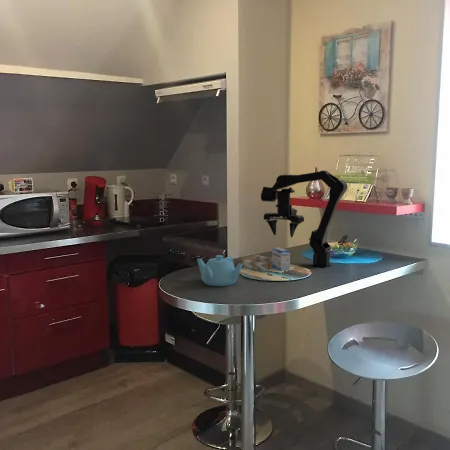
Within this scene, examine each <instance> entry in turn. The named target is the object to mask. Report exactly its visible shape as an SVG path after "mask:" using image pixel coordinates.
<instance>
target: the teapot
mask: <svg viewBox="0 0 450 450" xmlns="http://www.w3.org/2000/svg"><path fill="white" fill-rule="evenodd" d="M233 259H234V258H233V256H227V257H225V258H224V255H222V254H217V255H215V257H213V258H210V259H208V260H207V262H206V263H205V262H204V260H203V258H196V262H197V264H198V269H199V273H200V278H201V280H202V282H203V283H204V284H205V285H206V286H210V287H228V286H232V285H234V283H235V282H237V280H238V277H239V275H240V272H241V270H242V268H243V267H242V265H243V264H241V262H239V263H237V265H236V267H235V264H234V263H235V262H234V260H233Z"/></svg>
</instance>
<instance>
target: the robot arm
mask: <svg viewBox="0 0 450 450" xmlns="http://www.w3.org/2000/svg"><path fill="white" fill-rule="evenodd" d="M319 180H320V181H322V182H323V183H324V184H325V185H326V186H327V187H329V194H328V195H329V196H328V201H327V203H326V207H325V208H324V211H323V214H322V217H321V219H320V222H319V223H318V224H319V225H318V227H317V229H315V230H312V231H311V233H310V237H309V238H308V240H309V242H308V243H309V246H310V247H311V249H312V251H313V254H312V264H311V266H312V267H318V268H325V269H326V268H328V267H330V266H332V264H331V263H330V262H331V261H330V259H331V253H330V250H331V248H332V246H331V245H330V244H329V243H328V241H327V240H328V230H329V228H330V225H331V222H332V219H333V217H334V216H335V215H334V214H335V211H336V209H337V207H338V204H339V202H340V200H341V199H342V198H343V196H344V195H345V193H346V191H347V190H348V184H347V182H346V181H345V180H343V179H340V178H338V177H337V176H335V175H333V174H331V173H330V172H329V171H328V170H325V169H324V170H320V171H316V172H310V173H309V172H308V173H303V174H281V175H278V176H277V178H276V181H275V183H274V184H273V185H272V187H269V186H263V187H262V191H261V193H260V200H261V201H262V202H269V203H271V202H272V203H273V202H274V203H275V202H276V201H277V204H275V208H276V210H277V211H276V212H266V213H264V214H263V220H265V222H266V223H267V224H268V226H269V227H270V229H271V232H272V234H273V236H276V235H277V222H278V220H285V221H290V222H289V236H290V238H293V237H294V234H295V232H296V229H297V227H298V226H299V224H302V223H304V222H305V217H304V215H302V214H297V213H298V209H295V208H293V205H292V204H291V194H293V193H294V194H295V193H296V190H294V189H293V188H292V187H291V186H294V185H296V184H301V183H306V182H308V183H309V182H313V181H319ZM288 187H289V188H288Z"/></svg>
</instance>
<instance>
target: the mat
mask: <svg viewBox="0 0 450 450" xmlns="http://www.w3.org/2000/svg"><path fill="white" fill-rule="evenodd" d="M294 268H296V267H293V266H290V271H292V270H291V269H293V270H295V269H294ZM269 271H272V272H271V273H275V272H278V273H277V274H282V272H283V273H285V272H284V271H281V270H278V269H275V268H273V267H272V268H268V270H267V271H266V272H269ZM285 271H286V272H289V271H288V270H285Z"/></svg>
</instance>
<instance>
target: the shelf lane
mask: <svg viewBox="0 0 450 450" xmlns="http://www.w3.org/2000/svg"><path fill="white" fill-rule="evenodd" d="M240 263H241V264H243V265H242V268H246V267H250V268H249V269H252V268H257V269H256V270H258V269H261V270H260V271H263V270H266V271H265V272H268V271H267V270H269V265H268V264H271V265H270V266H272V257H268V256H262V255H260V254H254V255H250V256H245V257H242V258H240Z"/></svg>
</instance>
